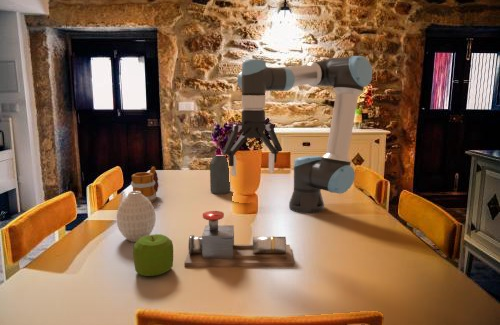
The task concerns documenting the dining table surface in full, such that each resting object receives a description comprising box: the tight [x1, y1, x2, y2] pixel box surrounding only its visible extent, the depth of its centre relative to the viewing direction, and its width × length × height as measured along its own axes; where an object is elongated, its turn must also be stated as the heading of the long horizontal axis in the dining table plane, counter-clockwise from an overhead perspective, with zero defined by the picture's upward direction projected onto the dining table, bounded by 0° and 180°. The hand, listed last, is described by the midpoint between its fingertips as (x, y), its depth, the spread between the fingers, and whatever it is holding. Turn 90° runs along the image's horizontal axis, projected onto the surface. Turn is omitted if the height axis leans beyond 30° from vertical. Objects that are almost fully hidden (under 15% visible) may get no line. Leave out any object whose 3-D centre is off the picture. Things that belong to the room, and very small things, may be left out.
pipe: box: [252, 236, 287, 254], centre depth 113 cm, size 10×5×5 cm, turn 90°
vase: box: [116, 190, 157, 243], centre depth 126 cm, size 13×13×17 cm
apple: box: [132, 233, 174, 277], centre depth 103 cm, size 11×11×11 cm
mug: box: [130, 166, 159, 203], centre depth 173 cm, size 11×16×15 cm, turn 158°
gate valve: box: [188, 210, 235, 260], centre depth 112 cm, size 13×9×13 cm, turn 90°
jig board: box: [184, 244, 295, 268], centre depth 113 cm, size 32×13×2 cm, turn 90°
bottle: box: [209, 152, 231, 195], centre depth 185 cm, size 10×10×30 cm
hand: (252, 174), depth 121 cm, fingers open, 13 cm apart
